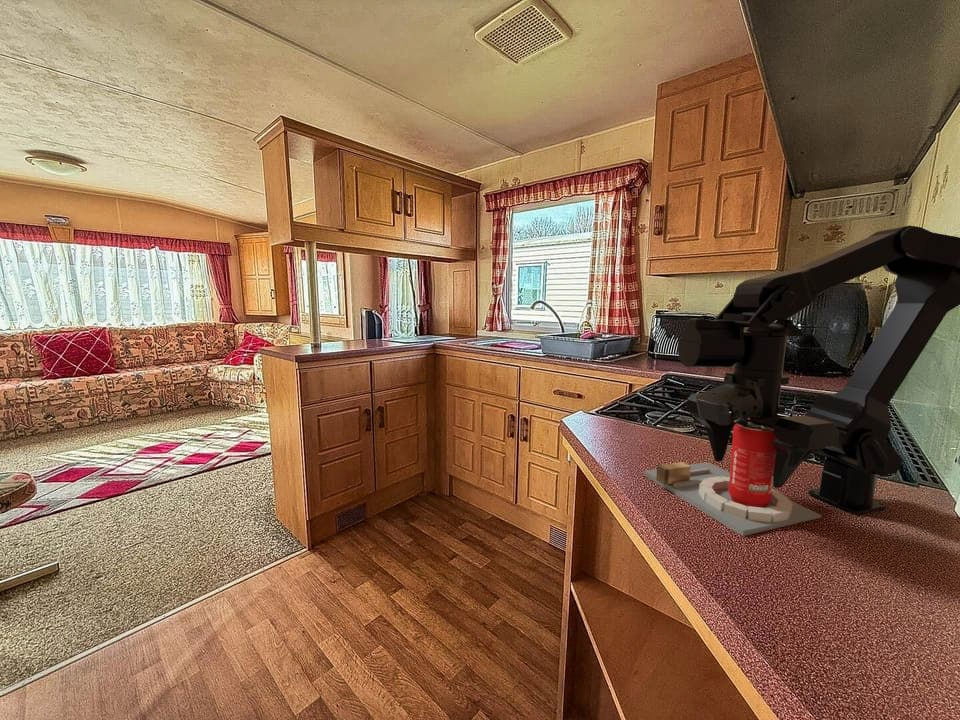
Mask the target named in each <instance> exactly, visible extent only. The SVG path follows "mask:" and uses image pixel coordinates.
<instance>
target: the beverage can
mask: <svg viewBox="0 0 960 720" xmlns="http://www.w3.org/2000/svg"><path fill="white" fill-rule="evenodd" d="M732 429H733V430H732V443H731V457H730V468H729V472H730V478H729V494H730V496H731V500H732V501H733V502H735V503H739V504H742V505H745V506H752V507H760V508H767V505H768V504H769V503H770V502H771V498H772V489H774V488H773V487H774V486H773V474H774V466H775V458H776V450H775V448H774V447H773V445H772V443H771V441H775V440H778V439H777V438H776V436H775V435H774V433H773V430H774V429H771V428H768V427H764V426H761V425H758V424H755V423H751V422H748V421H745V420H742V419H737V420H735V424H733V427H732Z"/></svg>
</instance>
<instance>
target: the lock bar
mask: <svg viewBox="0 0 960 720" xmlns="http://www.w3.org/2000/svg"><path fill="white" fill-rule="evenodd" d="M689 465H690V464H687V463H686V462H684V461H680V462H673V463H664V464H658V465H656V469H657V475H656V480H657V481H659V482H661V483H662V484H664V485H665V484H672V483H676V482H683V481H689V480H690V469H691V466H689Z"/></svg>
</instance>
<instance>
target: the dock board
mask: <svg viewBox="0 0 960 720" xmlns="http://www.w3.org/2000/svg"><path fill="white" fill-rule="evenodd" d="M688 465H689V466H691V469H690V480H689V481H683V482H676V483H672V484H665V485H664V484H662V483H661V482H659V481H657V480H656V475H657V468H654V469H646V470H643V476H644V477H646V478H648V479H649V480H651V481H652V482H654V483H656V484H658V485H659V486H661V487H662V488H664V489H665V490H667V491H669V492H671V493H672V494H673V495H675V496H677V497H678V498H680V499H682V500H683V501H685V502H687V503H688V504H690V505H691V506H693V507H695V508H696V509H698V510H699V511H701V512H703V513H705V514H706V515H708V516H709V517H711V519H712V518H713V519H714V520H715V521H717V522H719V523H720V524H722V525H724V526H725V527H727V528H729V529H730V530H731V531H734V532H735V533H736V534H738V535H740V536H742V537H745V536H748V535H753V534H754V535H755V534H756V533H757V534H758V533H761V532H766V531H770V530H774V529H779V528H782V527H786V526H792V525H795V524H800V523H803V522H804V523H805V522H808V521H812V520H816V519H820V518H822V514H821V513H820V514H819V513H818V512H816V511H814V510H811V509H809V508H807V507H805V506H803V505H801V504H799V503H797V502H794V501H792V500H790V499H789V498H788V497H787V496H786V495H785V494H783V493H781V491H778V490H776V489H774V488H772V498H771V502H770V503H769V504H768V505H767V508H760V507H752V506H745V505H742V504H739V503H735V502H733V501H732V500H731V496H730V494H729V478H730V471H728V470H726V469H723V468H721V467H720V466H717V465H716V464H713V463H711V462H707V461H706V462H699V463H691V464H688Z"/></svg>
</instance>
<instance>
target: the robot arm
mask: <svg viewBox="0 0 960 720" xmlns="http://www.w3.org/2000/svg"><path fill="white" fill-rule="evenodd" d="M882 267H883V269H884V271H886V272H887V273H891V274H892V275H894V276H897V277H896V279H895V281H894V287H895V288H894V289H895V292H896V297H897V301H896V304H895V306H894V307H893V309H892V311H891V312H890V314H889V316H888V317H887V318H886V320H885V322H884V323H883V325H882V327H880V328H881V329H880V330H879V331H878V333H877V335H876V336H875V338H874V339H873V340H872V343H871V344H870V345H869V347H868V349H867V351H866V352H865V354H864V355H863V357H862V359H861V361H860V362H859V364H858V365H857V367H856V369H855V370H854V372H853V373H852V375H851V377H850V378H849V380H848V381H847V382H846V384H845V386H844V387H843V388H842V389H841V390H840V391H837V392H836V393H834V394H831V395H830V394H828V393H823V392H822V393H819V394H818V396H816V398H815V400H814V401H813V404H812V405H811V406H812V407H810V409H809V410H808V411H807V412H806V413H805V414H804V415H793V416H779V414H780V415H782V414H785V412H786V405H781V404H780V399H781V390H782V388H781V387H782V385H783V386H784V385H789V382H790V376H789V377H788V376H784V375H783V374H784V373H783V372H784V365H785V356H786V355H785V354H786V348H787V340H788V339H787V338H789V337H790V338H791V337H793V338H797V337H798V338H799V337H804V335H805V332H804V331H803V330H802V329H801V328H799V327H798V326H797V325H795V323H794V322H793V320H792V319H790V318H792V317H794V316H795V315H797V314H798V313H800V312H802V311H804V310H805V309H807V308H808V307H810V306H812V304H813V303H814V302H815V300H816V299H817V297H818V296H819V295H822V294H823V293H824V292H826V291H828V290H830V289H834V288H835V287H838V286H840V285H842V284H844V283H847V282H849V281H852V280H854V279H856V278H859V277H861V276H863V275H865V274H868V273H870V272H873V271H875V270H877V269H879V268H882ZM959 306H960V236H954V235H949V234H948V235H947V234H943V233H937V232H934V231H930V230H928V229H926V228H923V227H920V226H916V225H906V226H899V227H893V228H887V229H882V230H878V231H875V232H874V233H872V234H870V235H869V236H868V237H866V238H863V239H862V240H859V241H857V242H854V243H852V244H850V245H847V246H845V247H842V248H841V249H838V250H836V251H833V252H831V253H829V254H826V255H825V256H822V257H820V258H818V259H816V260H812V261H811V262H808V263H805V264H804V265H801V266H799V267H797V268H794V269H793V268H792V269H789V270H784V271H779V272H774V273H769V274H766V275H762V276H757V277H753V278H749V279H746V280H743V281H741V283H739V284H738V285H737V286H736V287H735V291H734V293H733V297H732V298H731V299H730V301H729V302H728V303H727V304H726V305H725V306H724V308H723V309H722V310H721V311H720V312H719V314H718V315H717V316H716V317H715V318H714V319H713V320H712V319H707V318H693V317H692V318H689V319H688V321H687V322H688V325H687V327H686V328H685V329H684V330H683V332H682V333H681V334H680V338H679V340H677V355H678V359H679V361H680V363H681V364H682V365H683V367H686V368H731V367H733V369H732V370H733V371H732V372H726V373H725V375H724V376H723V382H722V384H721V385H719V386H714V387H712V388H710V389H708V390H706V391H704V392H700V393H699V392H698V393H695V392H694V393H691V395H689V397H688V398H687V400H686V409H685V410H686V412H687V411H688V412H690V413H692V414H691V416H692V417H693V418H694V419H696V420H697V421H698V422H700V423H701V424H702V425H703V427H704V429H705V432H706V434H707V437H708V440H709V441H708V442H709V444H710V448H711V451H712V455H713V458H714V461H716V462H717V463H719V462H723V461H724V458H725V455H726V452H727V449H728V446H729V441H730V437H731V434H732V431H733V430H732V429H733V427H734V422H736V421H737V420H739V419H742V420H745V421H748V422H751V423H755V424H758V425H761V426H764V427H768V428H771V429H774V430H773V433H774V435H775V436H776V438H777V440H775V441H771V443H772V445H773V447H774V448H775V450H776V458H775V466H774V474H773V487H774V488H776V489H778V488H783V486H784V485H786V484H785V483H786V482H787V481H788V480H789V479H790V477H791V476H792V475H793V474H794V472H795V471H796V470H797V469H798V467H799V466H800V465H801V464H802V463H803V462H804V461H805V459H807V457H809V456H810V455H811V454H812V453H813V452H814V453H817V454H819V455H822V456H825V457H824V459H823V465H822V471H821V476H820V482H819V488H813V489H808V491H807V493H808V495H810V496H812V497H815V498H817V499H820V500H822V501H824V502H826V503H829V504H831V505H834V506H836V507H838V508H841V509H843V510H845V511H846V512H850V513H852V514H855V515H860V514H865V513H871V512H875V511H879V510H884V509H886V508H887V504H886V503H883V502H880V501H878V500H875V499H874V498H875V492H876V487H877V479H878V476H882V477H888V476H889V475H892V474H895V475H896V474H897V473H898V472H899V470H900V468H901V466H902V464H903V462H904V459H903V458H902V457H901V456H900V455H899V454H898V452H897V451H896V450H895V449H894V447H892V446H891V444H889V442H888V441H887V438H888V437H889V433H890V431H891V429H892V422H891V415H890V409H889V404H890V402H891V401H892V400H893V397H894V396H895V394H896V393H897V392H898V390H899V388H900V387H901V385H902V383H903V382H904V381H905V379H906V377H907V376H908V374H909V373H910V371H911V369H912V368H913V366H914V365H915V363H916V362H917V360H918V358H919V357H920V355H921V354H922V352H923V351H924V349H925V347H926V346H927V344H928V343H929V342H930V340H931V338H932V337H933V336H934V334H935V332H936V330H937V329H938V328H939V325H940V324H941V323H942V321H943V320H944V318H945V317H946V315H947V314H948V313H949V312H950V311H952V310H954V309H955V308H957V307H959ZM745 328H746V330H745Z"/></svg>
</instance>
